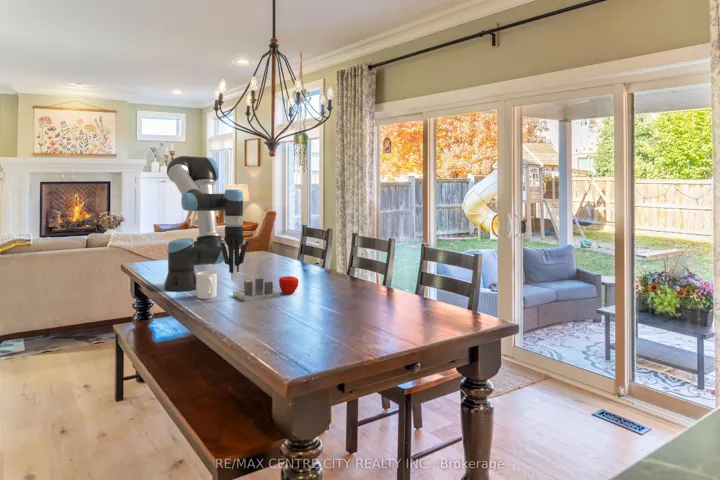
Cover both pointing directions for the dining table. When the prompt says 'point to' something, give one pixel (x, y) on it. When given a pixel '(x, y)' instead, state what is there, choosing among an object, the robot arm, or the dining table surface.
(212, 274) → the mug
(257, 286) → the block
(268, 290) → the breaker
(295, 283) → the apple
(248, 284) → the block
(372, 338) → the dining table surface
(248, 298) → the panel
